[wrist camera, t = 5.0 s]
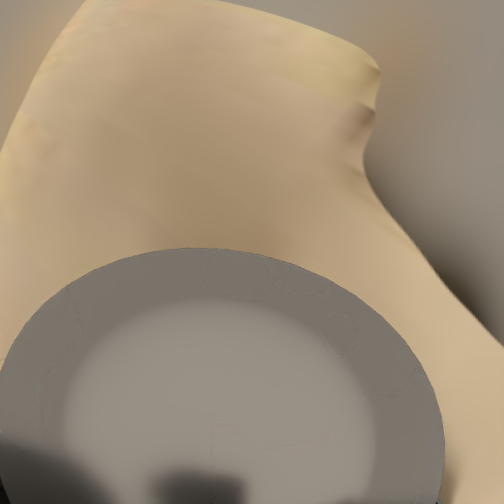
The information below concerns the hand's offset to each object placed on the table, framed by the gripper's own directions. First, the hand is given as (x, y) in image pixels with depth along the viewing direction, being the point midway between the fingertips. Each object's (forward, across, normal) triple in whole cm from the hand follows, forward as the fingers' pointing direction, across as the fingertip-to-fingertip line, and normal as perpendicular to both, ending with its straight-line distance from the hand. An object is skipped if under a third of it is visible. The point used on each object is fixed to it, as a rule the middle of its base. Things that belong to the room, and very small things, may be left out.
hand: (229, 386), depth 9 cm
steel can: (+4, 0, +6) cm, 7 cm away
